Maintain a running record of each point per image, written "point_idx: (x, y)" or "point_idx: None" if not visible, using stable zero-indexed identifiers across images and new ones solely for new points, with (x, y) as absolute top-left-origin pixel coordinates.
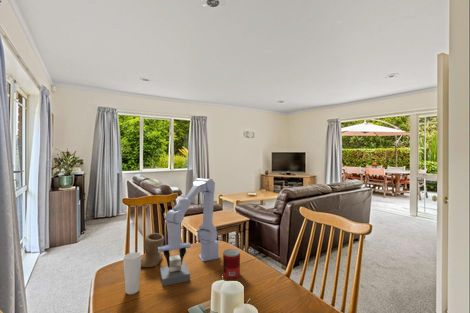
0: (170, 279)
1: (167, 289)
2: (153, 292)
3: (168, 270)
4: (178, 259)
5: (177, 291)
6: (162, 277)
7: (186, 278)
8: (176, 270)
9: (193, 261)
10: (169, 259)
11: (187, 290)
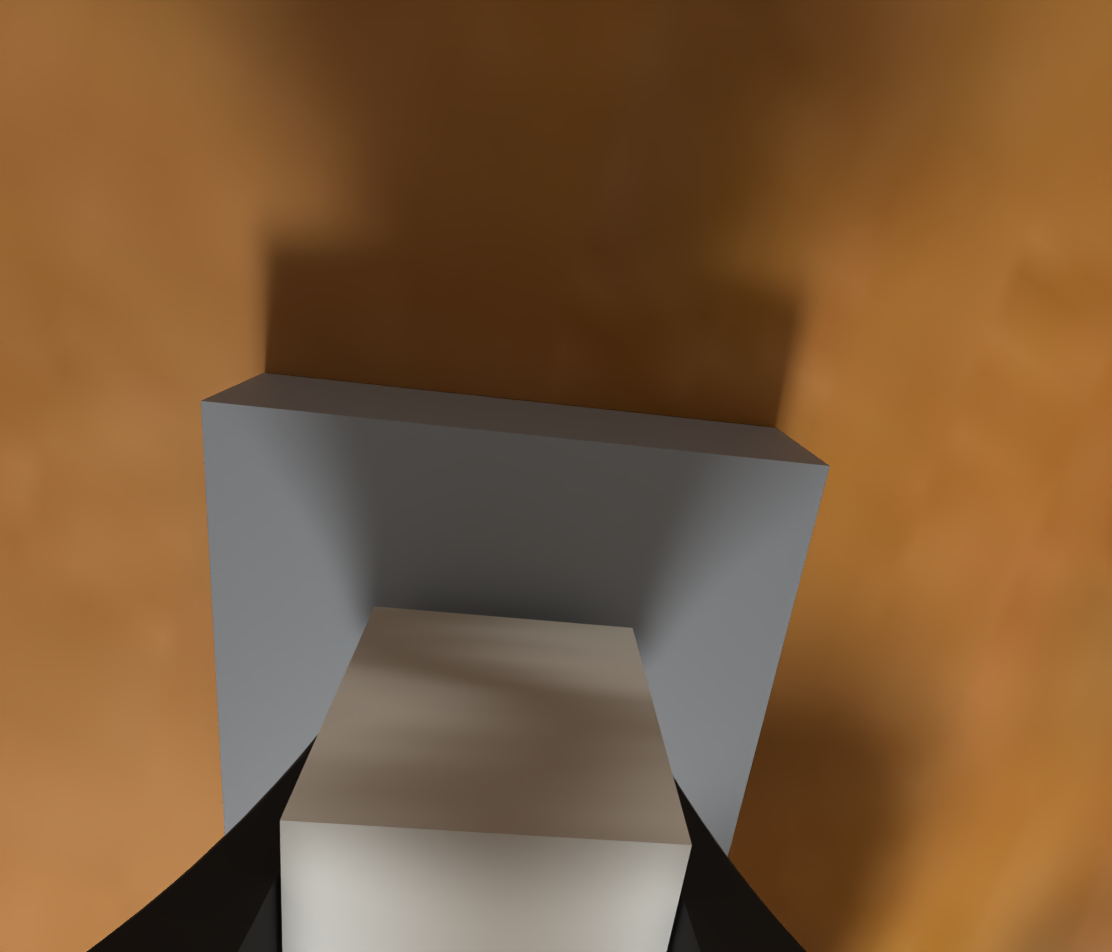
0: (659, 437)
1: (739, 276)
2: (977, 307)
3: None
4: (380, 826)
5: (597, 93)
6: (804, 542)
7: (323, 392)
8: (484, 619)
9: (86, 943)
10: (690, 922)
11: (402, 12)
